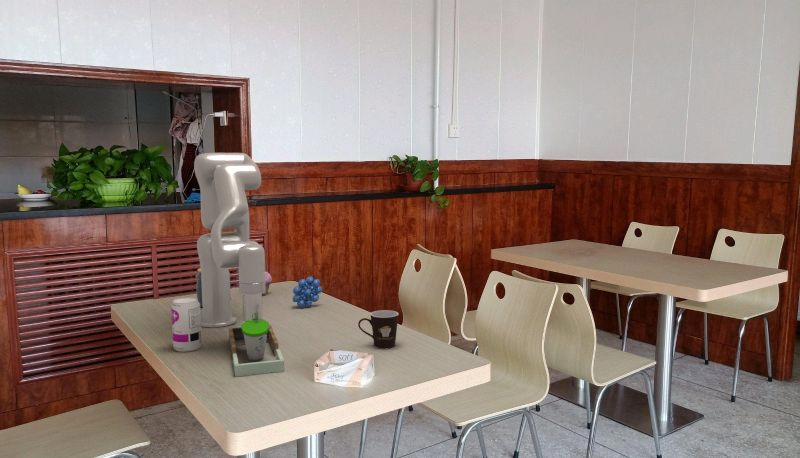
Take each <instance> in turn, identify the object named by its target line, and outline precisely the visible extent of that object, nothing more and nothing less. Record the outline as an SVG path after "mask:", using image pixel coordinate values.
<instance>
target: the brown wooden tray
mask: <svg viewBox="0 0 800 458" xmlns="http://www.w3.org/2000/svg"><path fill="white" fill-rule="evenodd" d="M273 329H274V328H273V327H272V325H271V324H269V331H268V333H267V339H266V344H268V343H269V344H270V346H271V349H272V352H273V355H274V357H276V349H279V342H278V339H277V336H276V334H275V332H274V330H273ZM228 338H229V339H228V341H229V347H230V352H231V359H232V361H233V354H235V353H237V347H238V346H246V344H245V339H244V333H242V328H241V327H240V326H239V327H229V328H228Z"/></svg>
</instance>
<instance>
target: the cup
mask: <svg viewBox="0 0 800 458" xmlns="http://www.w3.org/2000/svg"><path fill="white" fill-rule="evenodd" d="M258 312H259V304H258V305H257V312H256V316H257V319H252V321H249V320H247V321H245V322H244V323H242V324H241V328H242V333H244V339H245V344H246V345H245V349H246V354H247V358H248V359H249V360H250V361H254V362H255V361H256V362H257V361H260V360H262V359H263V358H264V357H265V351H266V345H267V343H266V339H267V333H268V331H269V325H270V323H269V322H268V321H267V320H265V319H263V318H262V319H259V318H258Z"/></svg>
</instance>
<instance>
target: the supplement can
mask: <svg viewBox="0 0 800 458" xmlns="http://www.w3.org/2000/svg"><path fill="white" fill-rule="evenodd" d="M170 307H171V308H170V310H171V311H170V312H171V327H172V328H171V329H172V331H171V332H172V348H173V349H174V350H175V351H177V352H180V353H181V352H182V353H183V352H184V353H185V352H186V353H187V352H193V351H197V350H198V349H200V347H202V345H203V342H202V341H203V340H202V326H201V316H200V309H201V307H200V303H199V302H198V299H197V297H192V296H191V297H189V296H187V297H180V298H175V299H173V300H172V303H171V306H170Z"/></svg>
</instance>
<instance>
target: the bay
mask: <svg viewBox="0 0 800 458" xmlns="http://www.w3.org/2000/svg"><path fill="white" fill-rule="evenodd" d="M275 357H276V358H275V360H267V361H266V360H265V361H256V362H255V361H254V362H246V363H239V358H238V355H237V352H236V353H235V354H233V360H232V365H233V371H234V376H237V377H244V375H246V376H253V375H252V374H255V375H263V374H262V373H264V374H272V373H271V372H274V373H281V371H283V372H285V360H284V357H283V354H282V352H281V349H280V348H278V349H276V356H275Z"/></svg>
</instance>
